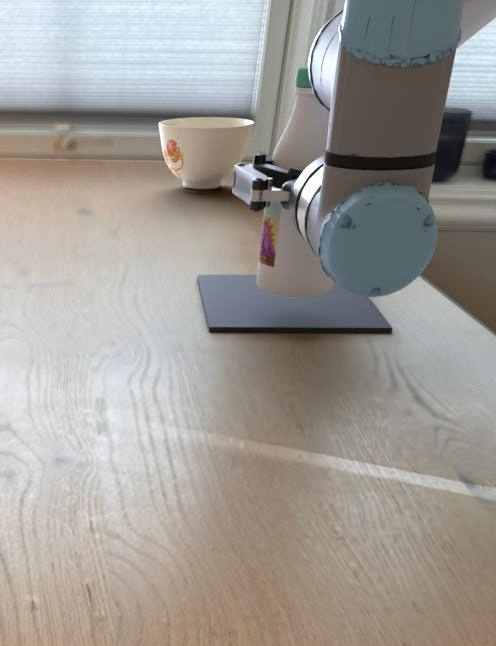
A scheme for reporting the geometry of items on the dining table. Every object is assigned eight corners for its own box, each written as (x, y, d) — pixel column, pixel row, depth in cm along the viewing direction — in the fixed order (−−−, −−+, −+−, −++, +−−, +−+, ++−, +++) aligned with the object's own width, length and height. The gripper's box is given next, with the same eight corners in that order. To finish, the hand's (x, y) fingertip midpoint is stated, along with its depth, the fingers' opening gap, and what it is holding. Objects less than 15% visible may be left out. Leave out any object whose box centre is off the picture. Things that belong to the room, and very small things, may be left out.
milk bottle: (342, 285, 102) (376, 63, 91) (318, 303, 96) (352, 69, 85) (270, 277, 105) (295, 62, 94) (244, 294, 100) (267, 68, 89)
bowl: (146, 181, 178) (149, 119, 172) (232, 177, 179) (237, 115, 173) (167, 196, 164) (171, 129, 159) (260, 191, 166) (266, 125, 160)
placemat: (391, 332, 97) (392, 327, 97) (208, 331, 99) (209, 327, 99) (350, 278, 116) (351, 274, 115) (196, 278, 117) (197, 274, 117)
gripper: (212, 255, 83) (196, 206, 102) (462, 254, 81) (398, 204, 100) (220, 158, 79) (201, 125, 98) (484, 154, 77) (413, 122, 96)
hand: (301, 165), depth 99 cm, fingers closed on milk bottle, 8 cm apart
